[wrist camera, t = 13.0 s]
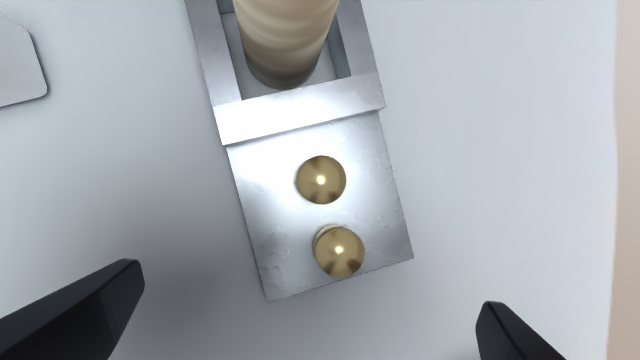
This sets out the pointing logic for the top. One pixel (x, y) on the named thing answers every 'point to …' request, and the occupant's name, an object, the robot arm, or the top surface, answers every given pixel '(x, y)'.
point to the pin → (283, 38)
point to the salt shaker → (18, 65)
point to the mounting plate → (308, 160)
